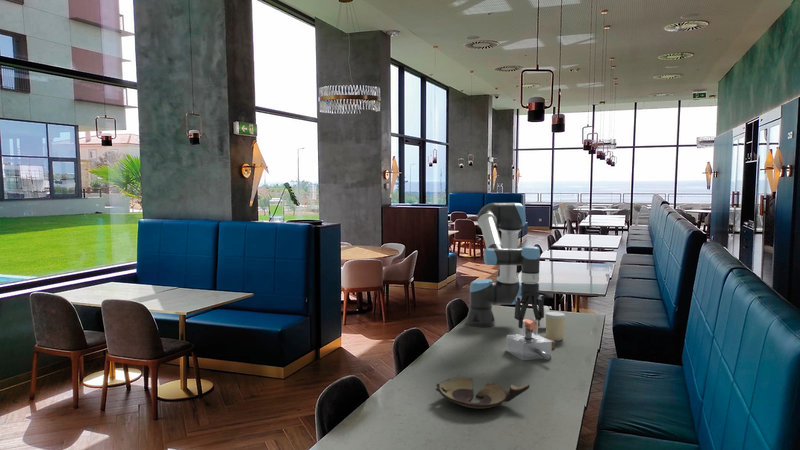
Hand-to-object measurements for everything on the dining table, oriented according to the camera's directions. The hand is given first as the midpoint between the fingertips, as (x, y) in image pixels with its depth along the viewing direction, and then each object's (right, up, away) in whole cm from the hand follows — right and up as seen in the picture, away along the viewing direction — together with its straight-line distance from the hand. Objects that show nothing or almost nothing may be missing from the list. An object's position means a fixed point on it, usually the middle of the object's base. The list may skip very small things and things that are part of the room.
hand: (528, 334), depth 234 cm
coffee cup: (+19, -7, +25) cm, 32 cm away
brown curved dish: (-29, -13, -53) cm, 62 cm away
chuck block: (+1, -9, -4) cm, 10 cm away
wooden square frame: (+9, -8, +12) cm, 17 cm away
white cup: (+17, -5, +46) cm, 49 cm away
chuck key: (0, -6, 0) cm, 6 cm away
